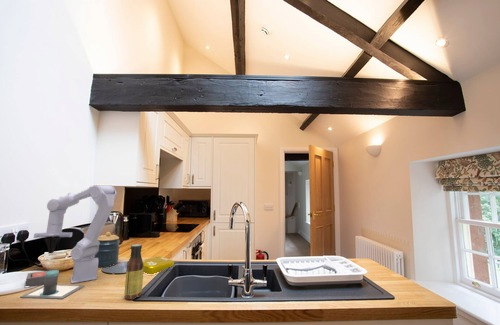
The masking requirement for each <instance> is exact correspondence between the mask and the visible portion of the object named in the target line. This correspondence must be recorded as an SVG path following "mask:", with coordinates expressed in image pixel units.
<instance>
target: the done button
mask: <svg viewBox="0 0 500 325" xmlns="http://www.w3.org/2000/svg"><path fill="white" fill-rule="evenodd" d="M36 272H37V273H35V272H33V273H34V274H32V277H38V276H44V275H46V272H42V271H36Z"/></svg>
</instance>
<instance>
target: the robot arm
mask: <svg viewBox="0 0 500 325" xmlns="http://www.w3.org/2000/svg"><path fill="white" fill-rule="evenodd" d="M116 197H117V191H116V188H115V187H114V186H113V185H100V184H99V185H98V184H95V185H91V186H89V187H88V188H87V189H84V190H82V191H80V192H77V193H74V192H69V193H67V194H66V195H64V196H59V198H51V199H50V200H49V201H48V202H47V204H46V209H47V210H48V211H49V214H48V220H47V226H46V232H37V233H34V234H33V239H38V238H39V239H40V238H42V239H43V238H44V243H45V244H46V247H47V252H48V254H53V253H54V252H55V250H56V248H57V245H58V243H59V242H60V241H61V239H62V238H72V237H73V232H70V231H69V232H68V231H67V232H66V231H65V232H64V231H63V226H64V225H63V224H64V216H65V214H66V212H67V209H68V208H70V207H72V206H75V205H78V204H79V203H80V201H81V200H84V199H87V198H91V199H92V200H93V201H94V203H95V204H96V205H97V206H98V209H97V210H96V212H95V214H94V217H93V219H92V220H91V223H90V224H89V227H88V228H87V231H86V233H85V235H84V237H83V238H82V239H81V240H79V241H78V242H77V243H76V245H75V246H74V247H73V248H72V249H71V252H70V257H71V259H72V261H73V268H72V269H73V270H72V276H70V277H69V280H70V284H78V283H83V282H88V281H93V280H97V279H98V278H97V277H98V271H99V268H98V258H94V257H95V255H96V254H97V252H98V247H99V244H100V242H99V241H98V237H99V236H101V234H102V231H103V229H104V227H105V225H106V223H107V221H108V218H109V217H110V214H111V213H112V210H113V208H114V206H115V198H116Z"/></svg>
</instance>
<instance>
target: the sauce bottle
mask: <svg viewBox="0 0 500 325" xmlns="http://www.w3.org/2000/svg"><path fill="white" fill-rule="evenodd" d="M142 248H143V245H142V244H140V243H137V244H135V243H134V244H132V245H131V246H130V256H129V257H130V258H128V260H127V263H126V271H125V282H124V292H123V293H124V298H125V299H126V298H127V299H126V300H128V299H132V300H134V299H133V298H135V297H137V296H140V295H141V296H142V292H143V279H144V273H143V266H144V265H143V261H142V260H143V258H142ZM141 296H140V297H141Z"/></svg>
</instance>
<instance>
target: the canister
mask: <svg viewBox="0 0 500 325" xmlns="http://www.w3.org/2000/svg"><path fill="white" fill-rule="evenodd" d="M119 239H120V237H119V236H118V235H117V234H111V232H110V231H107V232H105V234H104V235H103V234H101V235H99V237H98V241H99V242H100V244H99V247H98V252H97V254H96V255H95V257H94V258H98V269H99V268H107V267H106V266H109V267H111V266H110V265H113V264H115V265H117V264H118V263H117V262H119V255H120V243H121V240H119ZM116 263H117V264H116ZM113 266H114V265H113Z"/></svg>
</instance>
